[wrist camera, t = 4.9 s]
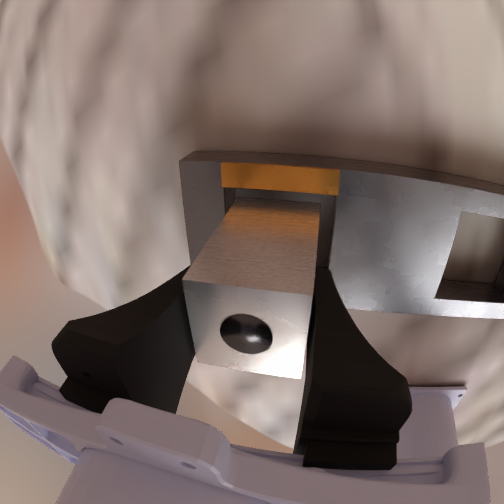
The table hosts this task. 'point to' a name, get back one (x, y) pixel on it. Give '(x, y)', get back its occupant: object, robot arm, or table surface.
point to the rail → (362, 224)
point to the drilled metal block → (255, 287)
